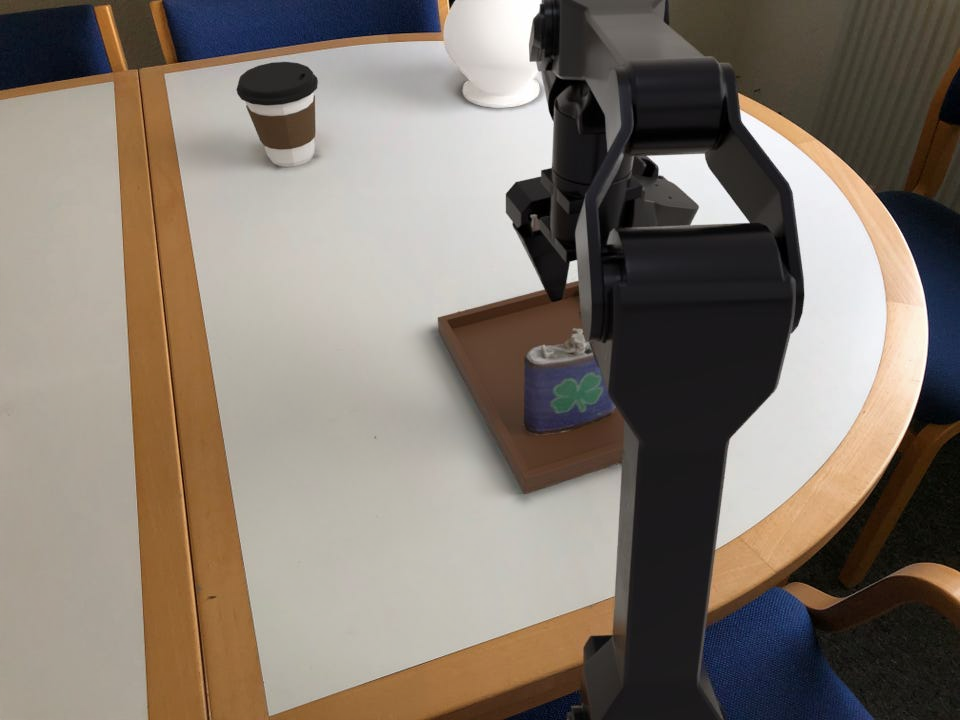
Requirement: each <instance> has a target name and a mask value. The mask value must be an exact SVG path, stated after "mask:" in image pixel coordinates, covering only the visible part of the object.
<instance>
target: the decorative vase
mask: <svg viewBox="0 0 960 720" xmlns="http://www.w3.org/2000/svg"><path fill="white" fill-rule="evenodd" d="M541 3H542V0H454V1H453V3H452V4H451V7H450V9H449V11H448V12H447V15H446V17H445V20H444V25H443V31H442V32H443V33H442V34H443V37H442V38H443V45H444V49H445V52H446V54H447V55H448V57H449V58H450V60H451V61H452V62H453V64H454V65H455V67H456V68H457V69H458V70H459V71H460V72H461V73H462V74H463V76H465V77H466V78H467V80H466V81H465V82H464V84H463V85H462V94H463V97H464V98H465V100H466V101H468V102H470V103H472V104H474V105H477V106H480V107H485V108H491V109H492V108H493V109H506V108H507V109H508V108H514V107H520V106H522V105H526V104H528V103H530V102H532V101H534V100H535V99H536V98H537V97H538V96H539V94H540V84H539V82H538V81H537V80H536V79H535V77H536V76H537V75H538V74H539V72H540V71H538V68H537V63H536V62H529V40H530V34H531V28H532V22H533V18H534V17H535V16H536V15H537V14H538V13H539V9H540V4H541Z"/></svg>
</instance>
